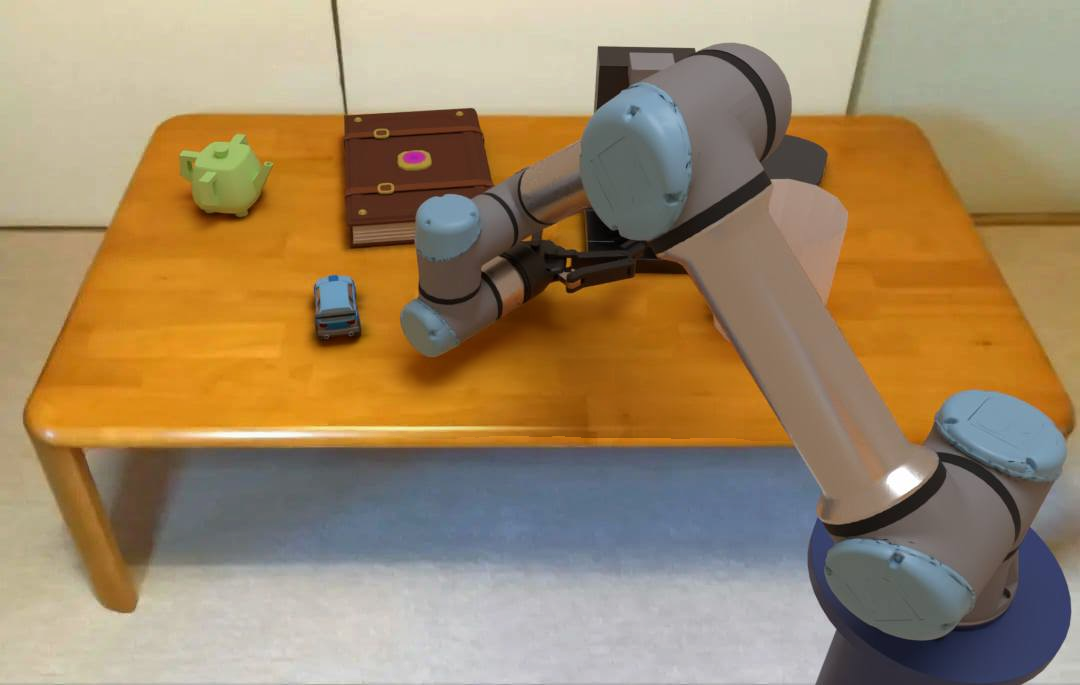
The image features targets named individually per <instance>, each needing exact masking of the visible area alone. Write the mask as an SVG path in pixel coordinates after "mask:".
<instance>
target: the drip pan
mask: <svg viewBox="0 0 1080 685" xmlns="http://www.w3.org/2000/svg"><path fill="white" fill-rule="evenodd" d="M583 213H584V214H583V215H584V217H583V218H584V235H585V252H593V251H617V250H620V246H621V245H622V244H624V243H625V242H627V241H629V240H630V239H627V238H625V237H623V236H621V235H620V233H619V230H611V229H610V228H609V227H608V226H606V225H605V223H604V222H603V221H602V220H601V219H600V218H599V217H598V215H597V214H596V212H595V211H594V209H593V207H591V208H589V209H587V210H585V211H583ZM618 260H619V259H618ZM635 274H677V275H678V274H680V275H688V273H687V271H686V270H685V268H684V267H683V265H681V264H679V263H677V262H674V261H669V260H665V259H661V258H657V256H656V255H655V253H654V252H653V250H652V248H651V247H649V248H648V249H646V250H644V254H643V256H642V257H640V258H639V259H637V260H636V266H635Z"/></svg>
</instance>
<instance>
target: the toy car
mask: <svg viewBox="0 0 1080 685" xmlns="http://www.w3.org/2000/svg"><path fill="white" fill-rule="evenodd" d="M313 296H314V301H315V311H316V312H315V316H314V328H315V330H314V331H315V336H316V338H317V340H318V341H320V340H326V339H327V340H329V338H333V337H334V338H335V337H342V336H349V337H352V336H361V335H362V323H361V318H360V314H359V308H358V304H357V298H358V296H357V289H356V284H355V281H354V280H353V278H351V276H349V275H338V274H331V275H328V276H326V277H325V276H324V277H320V278H318V279H316V283H314V285H313Z"/></svg>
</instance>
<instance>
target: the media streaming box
mask: <svg viewBox="0 0 1080 685" xmlns="http://www.w3.org/2000/svg"><path fill="white" fill-rule="evenodd" d="M828 155H829V153H828V151H827V150H826V149H825V148H824V147H822V146H821V145H820V144H818V143H816V142H814V141H811V140H809V139H807V138H802V137H799V136H795V135H791V134H786V133H785V136H784V138H783V139H782V141H781V142H780V144H779V145H778V147H777V148H776V149H775V151H774V152H773V153H772V154H771V155H770V156H769V157H768V158H767V159H766V160H764V161H763V162H761V165H762V167H763V168H764V170H765V172H766V174H767V175H768V177H769V178H770V179H792V180H796V181H800V182H804V183H809V184H813V185H816V186H818V187H820V184H821V182H822V179H823V177H824V172H825V169H826V164H827V160H828Z"/></svg>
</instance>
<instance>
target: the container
mask: <svg viewBox="0 0 1080 685" xmlns="http://www.w3.org/2000/svg"><path fill="white" fill-rule="evenodd" d="M770 180H771V182H772V183H773V185H774V187H773V191H772V195H771V198H770V202H769V206H768V207H769V214H770V215H771V217H772V219H773V220H774V222H775V224H776V225H777V227H778V228H779V230H780V232H781V233H782V235H783V237H784V238H785V240H786V242H787V243H788V245H789V247H790V248H791V250H792V251H793V253H794V255H795V256H796V258H797V260H798V261H799V263H800V265H801V266H802V268H803V269H804V271H805V273H806V274H807V276H808V278H809V279H810V281H811V283H812V284H813V286H814V288H815V289H816V291H817V292H818V294H819V296H820V297H821V299H822V301H823V302H824V304H825V306H826V307H827V303H828V299H829V296H830V291H831V288H832V284H833V281H834V276H835V273H836V269H837V267H838V261H839V258H840V254H841V251H842V246H843V243H844V239H845V237H846V236H845V235H846V232H847V228H848V227H847V226H848V222H849V221H848V220H849V214H850V213H849V211H848V210H847V209H846V207H845V206H844V204H843V203H842V202H841V200H840V199H839V197H837V196H836V195H834V194H832V193H830V192H829V191H827V190H825V189H824V188H822V187H820V186H819V187H818V186H816V185H813V184H809V183H804V182H800V181H796V180H792V179H770ZM712 318H713V327H714V328H715V329H716V330H717V331H718V332H719V333H720V335H721V336H722V337H723V338H724V339H725V340H726V342H728V343H729V344H731V342H730V341H729V339H728V337H727V336H726V334H725V333H724V331H723V329H722V328H721V326H720V325H719V323H718V321H717V320H716V318H715V317H714V315H713V314H712Z"/></svg>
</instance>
